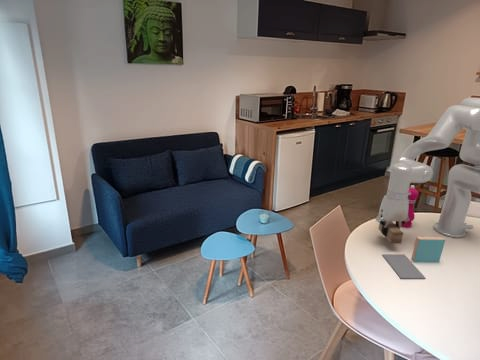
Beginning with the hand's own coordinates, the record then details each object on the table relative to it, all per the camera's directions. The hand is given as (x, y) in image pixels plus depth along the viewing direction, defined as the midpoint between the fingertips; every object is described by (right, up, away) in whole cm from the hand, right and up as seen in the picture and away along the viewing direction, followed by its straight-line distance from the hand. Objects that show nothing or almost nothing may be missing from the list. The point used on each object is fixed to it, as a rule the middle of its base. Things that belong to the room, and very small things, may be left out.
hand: (389, 234), depth 138 cm
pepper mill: (+15, +1, +19) cm, 25 cm away
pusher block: (0, -1, 0) cm, 1 cm away
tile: (+9, -9, -9) cm, 16 cm away
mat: (-1, -10, -14) cm, 17 cm away
